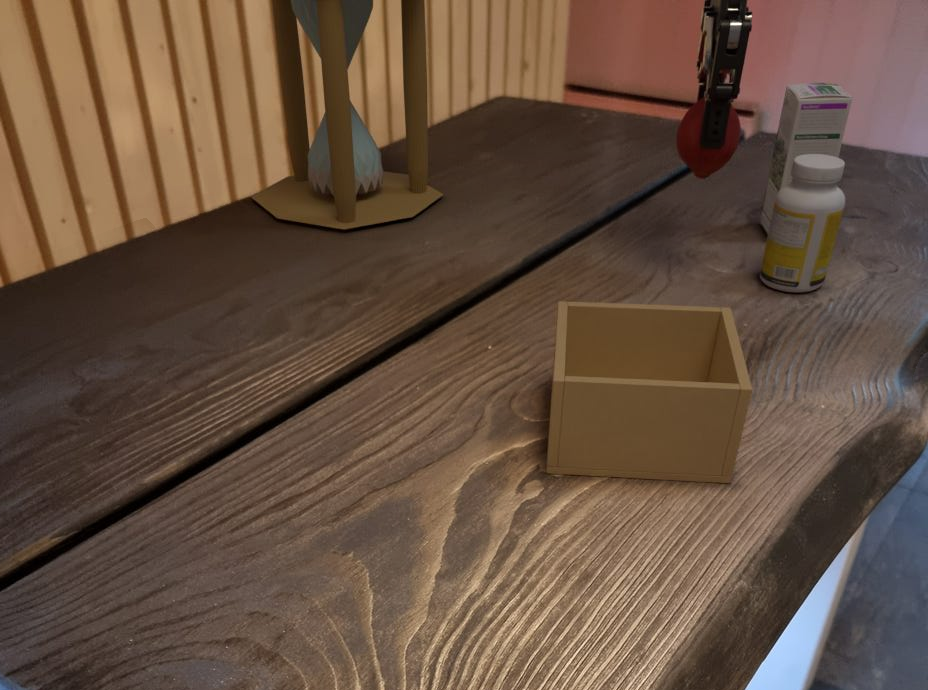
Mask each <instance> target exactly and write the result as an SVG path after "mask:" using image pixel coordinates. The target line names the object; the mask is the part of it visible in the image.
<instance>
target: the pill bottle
mask: <svg viewBox="0 0 928 690" xmlns="http://www.w3.org/2000/svg"><path fill="white" fill-rule="evenodd" d="M845 164H846V162H845V161H844V160H843V159H842V158H840V157H838V158H837V157H834V156H829V155H823V154H806V155H800V156H798V157H796V158H795V159H794V161H793V166H792V170H791V176H792V177H793V178H792V182H791V183H788V184H786V185H785V186H784V187H782V188H781V189H780V190H779V192H778V194H777V196H776V200H775V204H774V208H773V213H772V218H771V223H770V228H769V232H768V235H767V237H766V242H765V247H764V251H763V255H762V262H761V265H760V271H759V277H760V280H761V282H762V283H763V284H764V285H766V286H767V287H769V288H772V289H773V290H777V291H781V292H787V293H807V292H812V291H814V290H818V289H819V288H820V287H821V286H823V284H824V282H825V281H826V277H827V274H828V270H829V265H830V262H831V258H832V255H833V251H834V246H835V243H836V239H837V235H838V232H839V229H840V224H841V220H842V217H843V213H844V209H845V206H846V195H845V193H844V192H843V191H842V189H841V188H840V187H838V183H839V181H841V180H842V177H843V175H844V170H845V166H846V165H845Z"/></svg>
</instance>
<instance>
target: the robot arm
mask: <svg viewBox="0 0 928 690" xmlns="http://www.w3.org/2000/svg"><path fill="white" fill-rule="evenodd" d="M752 22H753V11H750V7H749V6H748V0H704V2H703V7H702V10H701V15H700V30H701V31H700V34H699V35H700V36H699V40H698V41H699V42H698V47H697V61H696V68H697V74H696V79H697V83H698V84H699V85H698V91H697V98H696V102H697V101H699V100H700V99H702V98H703V97H704V98H705V107H704V114H703V121H702V127H701V134H700V146H701V147H702V148H704V149H720V148H722V147H723V146H724V144H725V138H726V132H727V126H728V120H729V114H730V108H731V104H732V103H734V101H735V100H738V97H739V95H740V92H741V87H740V86H741V81H742V75H743V70H744V66H745V60H746V54H747V49H748V43H749V40H750V39H749V38H750V33H751V32H752V28H753V23H752ZM728 76H729V78H728ZM727 78H728V82H726V80H727Z"/></svg>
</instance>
